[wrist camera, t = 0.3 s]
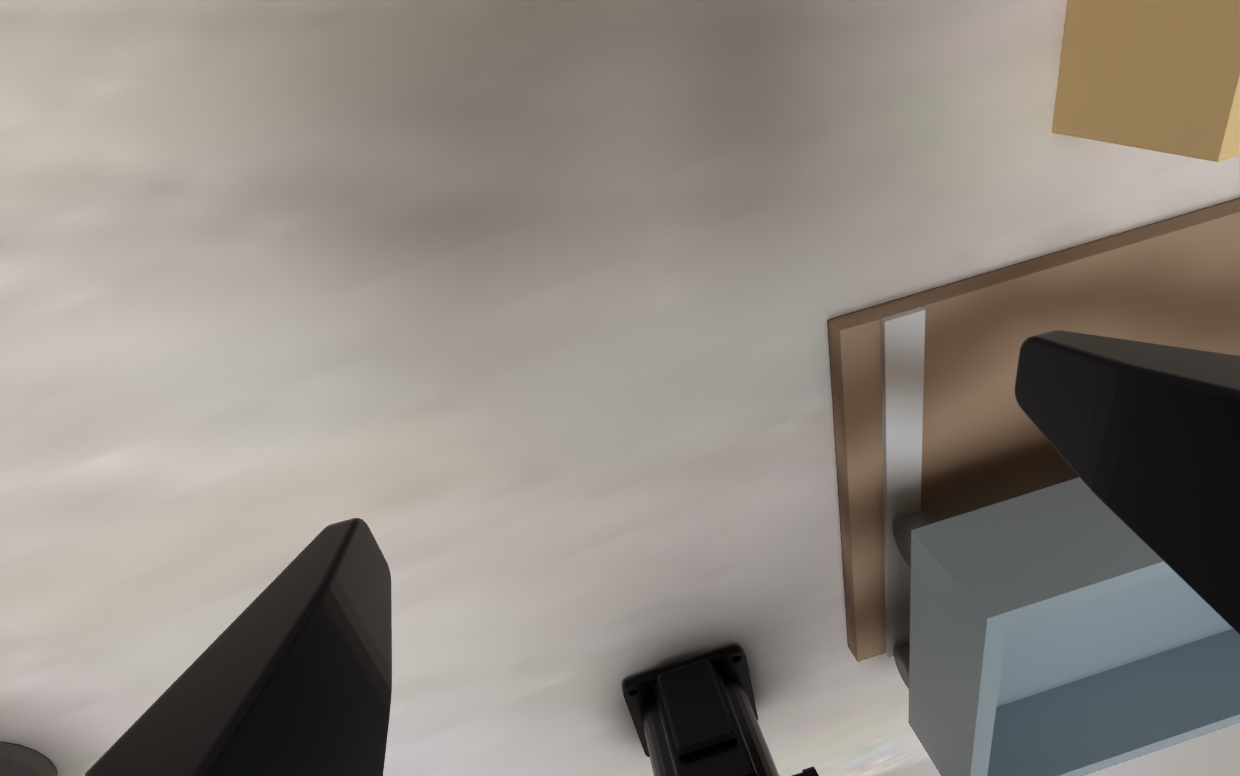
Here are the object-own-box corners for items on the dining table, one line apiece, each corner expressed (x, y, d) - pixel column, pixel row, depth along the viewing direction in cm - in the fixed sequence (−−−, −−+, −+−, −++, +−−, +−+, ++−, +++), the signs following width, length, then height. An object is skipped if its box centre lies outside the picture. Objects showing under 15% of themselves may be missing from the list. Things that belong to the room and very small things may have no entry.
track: (1217, 526, 36) (1241, 542, 35) (848, 646, 35) (860, 666, 34) (1343, 167, 26) (1382, 173, 25) (827, 320, 25) (843, 333, 24)
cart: (1214, 573, 36) (1360, 681, 30) (883, 681, 35) (965, 815, 29) (1290, 364, 29) (1501, 451, 23) (879, 493, 28) (987, 618, 22)
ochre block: (1167, 98, 23) (1365, 118, 18) (1051, 132, 23) (1217, 162, 18) (1197, -50, 21) (1433, -75, 16) (1068, -14, 21) (1265, -29, 15)
